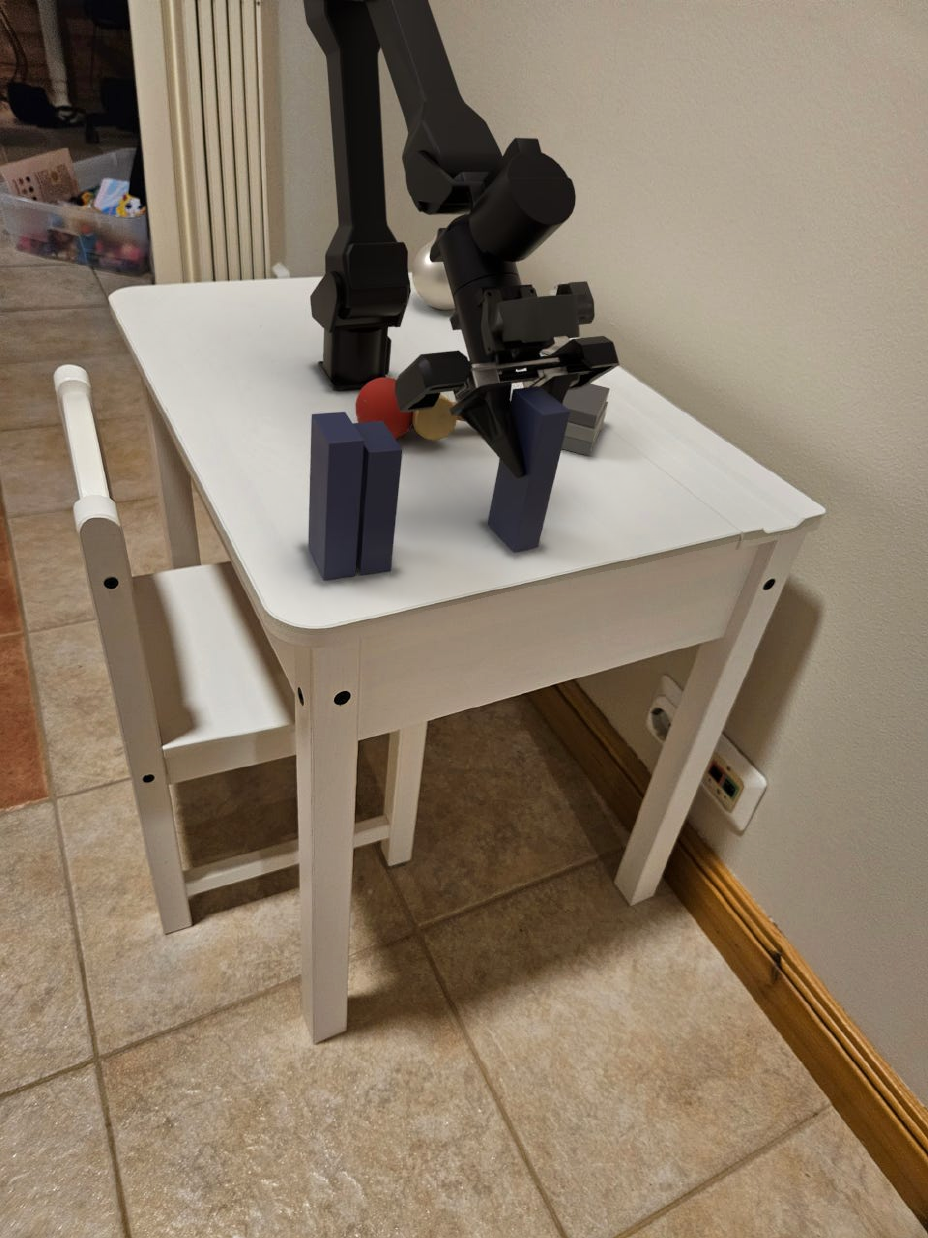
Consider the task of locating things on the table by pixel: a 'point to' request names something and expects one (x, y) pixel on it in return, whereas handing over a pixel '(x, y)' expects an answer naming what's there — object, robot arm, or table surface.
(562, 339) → the rook chess piece
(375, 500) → the navy books
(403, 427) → the kendama
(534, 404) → the navy book
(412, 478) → the table surface
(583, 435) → the grey books
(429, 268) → the baroque pearl
